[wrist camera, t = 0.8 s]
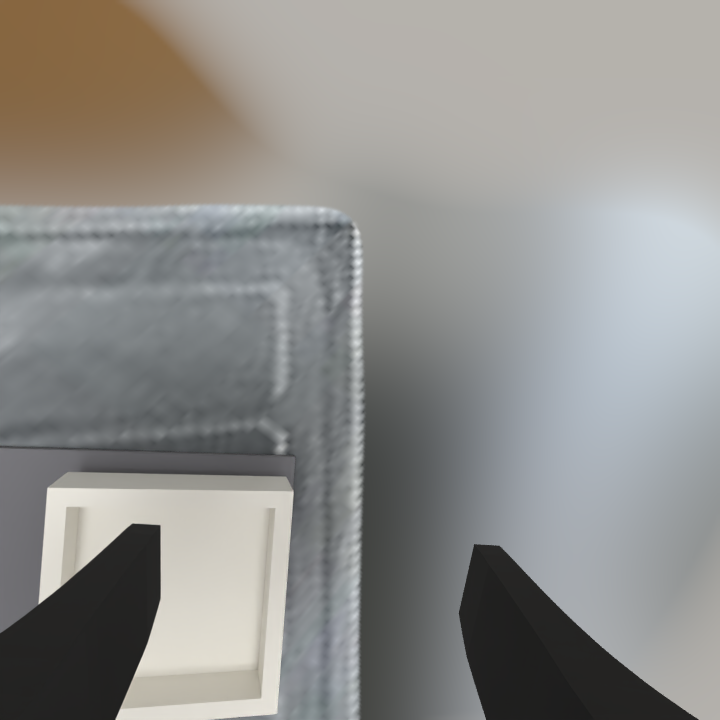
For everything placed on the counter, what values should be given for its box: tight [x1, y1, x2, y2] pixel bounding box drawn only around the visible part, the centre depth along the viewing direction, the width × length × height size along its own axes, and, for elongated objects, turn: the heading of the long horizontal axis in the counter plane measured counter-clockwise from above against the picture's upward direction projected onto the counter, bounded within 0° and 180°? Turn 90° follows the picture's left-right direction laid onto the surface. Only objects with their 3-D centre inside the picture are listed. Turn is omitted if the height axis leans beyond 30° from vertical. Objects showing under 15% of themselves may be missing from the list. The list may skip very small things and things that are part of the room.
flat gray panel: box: [0, 446, 296, 633], centre depth 29 cm, size 12×23×1 cm, turn 85°
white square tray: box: [39, 472, 294, 720], centre depth 27 cm, size 11×11×5 cm
